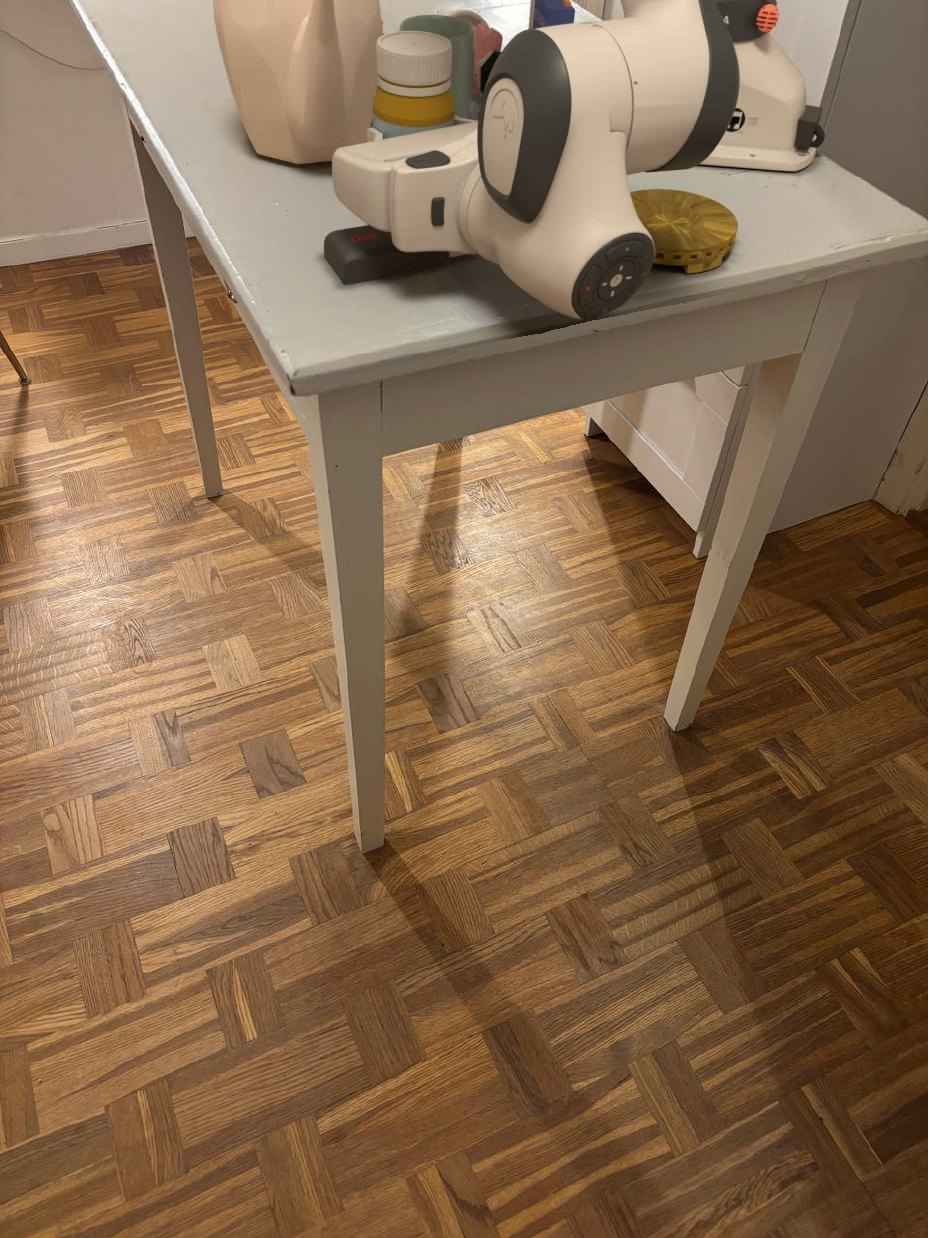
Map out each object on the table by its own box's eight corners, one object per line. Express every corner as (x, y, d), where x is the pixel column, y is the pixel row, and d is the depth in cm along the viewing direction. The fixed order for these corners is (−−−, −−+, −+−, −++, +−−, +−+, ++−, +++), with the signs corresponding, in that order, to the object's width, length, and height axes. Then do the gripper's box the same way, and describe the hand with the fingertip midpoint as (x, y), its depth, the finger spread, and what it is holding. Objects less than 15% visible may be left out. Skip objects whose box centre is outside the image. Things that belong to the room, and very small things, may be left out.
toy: (455, -12, 108) (494, 20, 98) (505, 21, 112) (548, 55, 102) (420, 62, 112) (454, 101, 102) (470, 92, 116) (508, 131, 106)
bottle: (410, 199, 91) (410, 23, 80) (466, 223, 88) (474, 43, 77) (360, 223, 88) (353, 41, 76) (416, 248, 85) (418, 63, 74)
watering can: (260, 214, 88) (232, -24, 74) (214, 109, 105) (184, -102, 91) (420, 197, 92) (421, -33, 78) (351, 98, 109) (342, -106, 95)
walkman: (562, 130, 104) (576, 5, 95) (537, 131, 104) (549, 5, 95) (545, 104, 109) (556, -18, 100) (521, 104, 109) (531, -18, 100)
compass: (618, 203, 92) (621, 180, 91) (741, 224, 90) (746, 201, 88) (587, 258, 85) (590, 235, 83) (720, 283, 82) (726, 260, 81)
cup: (463, 147, 100) (467, 42, 93) (392, 139, 101) (390, 33, 94) (477, 121, 106) (482, 18, 98) (409, 112, 106) (409, 10, 99)
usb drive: (324, 256, 83) (321, 226, 81) (449, 235, 87) (450, 205, 85) (344, 284, 80) (342, 253, 78) (472, 261, 84) (474, 231, 81)
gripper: (604, 127, 76) (510, 72, 84) (380, 174, 69) (299, 108, 76) (593, 205, 81) (505, 146, 89) (382, 257, 73) (306, 187, 81)
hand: (408, 129), depth 83 cm, fingers closed on bottle, 5 cm apart
